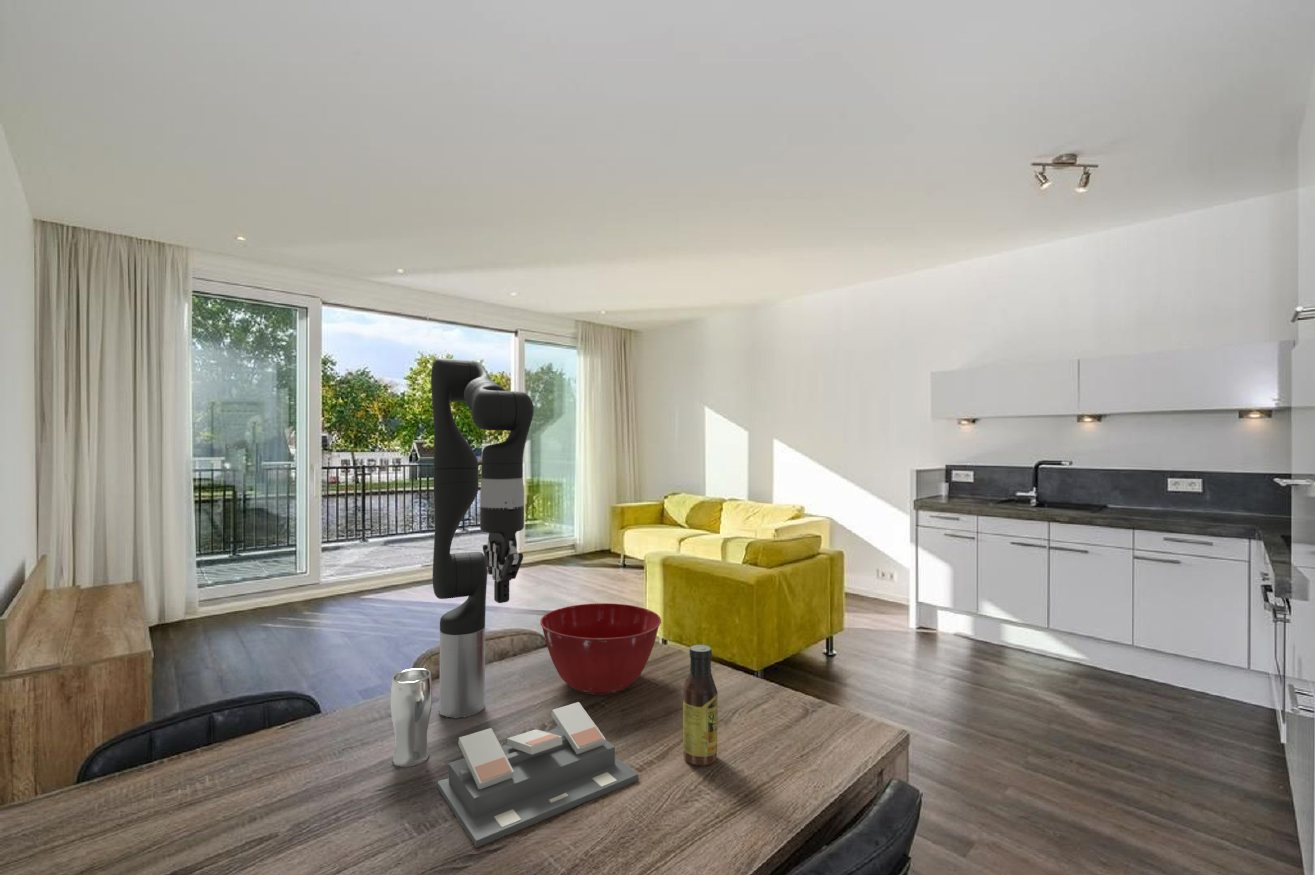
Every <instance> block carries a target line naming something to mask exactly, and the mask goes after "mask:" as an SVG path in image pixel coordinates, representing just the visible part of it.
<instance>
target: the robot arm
mask: <svg viewBox="0 0 1315 875" xmlns="http://www.w3.org/2000/svg"><path fill="white" fill-rule="evenodd" d="M430 371H431V373H430V375H431V376H430V387H431V401H432V404H431V405H432V416H433V436H434V437H433V442H434V443H433V498H434V500H433V502H434V535H433V536H434V540H433V541H434V542H433V558H432V588H433V593H434V595H435V597H436V599H439V600H446V599H454V598H465V597H467V599H465V601H464V602H462V604H460V605H458V606H457V607H455V608H453V609H451V610H449V611H447V612H445V613H444V614H443V615H442V616H441V617H440V620H439V701H438V702H439V706H438V708H439V710H438V712H439V711H440V712H439V714H440V713H441V714H440V715H441V716H442V715H444V716H446V717H445V718H448V717H451V718H450V719H453V718H452V717H463V718H465V717H464V716H468V717H470V716H469V715H472V716H475V715H477V714H479V713H480V712H482V711H483V709H485V705H486V704H485V702H486V698H485V696H486V693H485V691H486V609H487V608H486V606H487V605H486V604H487V602H486V601H487V585H488V574H489V575H490V576H491V577H492V578H491V579H492V580H493V581H494V582H493V583H494V584H493V586H494V591H493V594H494V596H493V597H494V598H493V599H494V601H495V602H496V603H498V604H502V603H504V604H505V603H508V602H509V601H510V581H512V580H514V579H516V577H517V575H518V572H519V570H520V568H521V565H522V562H523V560H524V554H523V553H522V552H518V550H517V549H518V543H517V535H516V534H517V532H520V531H523V529H524V528H525V486H524V478H523V477H524V473H523V472H524V466H523V465H524V464H523V462H524V451H525V448H526V442H527V439H528V434H529V431H530V428H531V425H532V421H533V418H534V404H533V400H532V399H531V397H530V396H529V395H528V394H527V393H525V392H524V391H516V390H515V391H511V390H510V391H509V390H505V388H503V387H502V386H501V385H499V384H498V383H497V382H495V381H493V379H492V378H491V377H490V374H489V373H488V372H487V369H486V368H485V367H484V366H483V365H482V364H481V363H479V362H478V361H474V360H469V359H468V360H467V359H456V358H455V359H454V358H441V357H440V358H437V359H435V361H434V362H433V363H432V366H431V370H430ZM451 402H460V403H461V402H464V403H465V404H466V406H467V408H468V409H469V410H470V411H471V416H472V421H473V423H474V425H475V427H477V428H478V429H481V430H483V431H503V432H504V431H508V432H509V434H508V437H507V438H506V439H505V440H504V441H502V442H497V443H492V444H490V445H487V446H484V448H483V449H482V451H481V452H482V453H481V485H480V484H479V461H478V458H477V456H476V454H475V452H474V450H473V449H472V447H471V445H470V444H469V442H468V441H467V439H466V438H465V437H464V435H463V434H462V432H461V431H460V429H459V427H458V425H457V423H456V421H455V419H454V416H453V413H452V408H451V404H450V403H451ZM479 486H480V491H479ZM478 492H480V494H479V495H480V496H479V497H480V499H479V501H480V502H479V503H480V505H479V506H480V507H479V508H480V510H479V514H480V515H479V516H480V517H479V529H480V531H481V532H484V533H488V539H487V540H488V541H487V543H486V544H483V545H482V550H483V553H482V552H480V551H471V552H467V551H466V552H455V553H451V547H452V543H453V538H454V536H455V534H456V532H457V529H458V528H459V525H460V524H461V522H462V521H463V518H464V517H465V515H466V514H467V512H468V511H469V510H470V508H471V506H472V504H473V503H474V501H475V500H476V497H477V495H478ZM444 716H443V717H444Z"/></svg>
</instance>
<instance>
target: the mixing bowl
mask: <svg viewBox="0 0 1315 875" xmlns="http://www.w3.org/2000/svg"><path fill="white" fill-rule="evenodd" d="M539 621H540V623H539V624H540V626H541V628H542V632H543V635H544V639H545V644H546V647H547V650H548V653H549V656H550V658H551V660H552V663H553V666H554V668H555V669H556V672H557V673H558V675H559V677H560V678H561V679H562V681H563V682H564V683H566V684H567V685H568V686H569V687H571V688H573V689H574V690H576V691H577V692H580V693H582V694H587V695H593V696H600V695H602V696H603V695H610V694H615V693H619V692H621V691H624V690H625V689H626V688H628V687H629V686H630V685H632V684H633V683H635V682H636V680H637V679H639V677H640V676H641V674H642V672H643V671H644V668H645V666H646V665H647V663H648V661H649V658H650V656H651V653H652V651H653V648H654V646H655V641H656V639H657V635H658V631H659V627H660V626H661V624H662V619H661V617H660V616H659V614H657V613H656V612H654V611H652V610H650V609H648V608H645V607H640V606H636V605H632V604H631V605H630V604H625V603H624V604H622V603H608V602H607V603H605V602H602V603H599V602H597V603H584V604H576V605H571V606H570V605H569V606H566V607H560V608H557V609H554V610H551V611H549V612H547V613H546V614H544V615H542V617H541V618H540V620H539Z"/></svg>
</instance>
